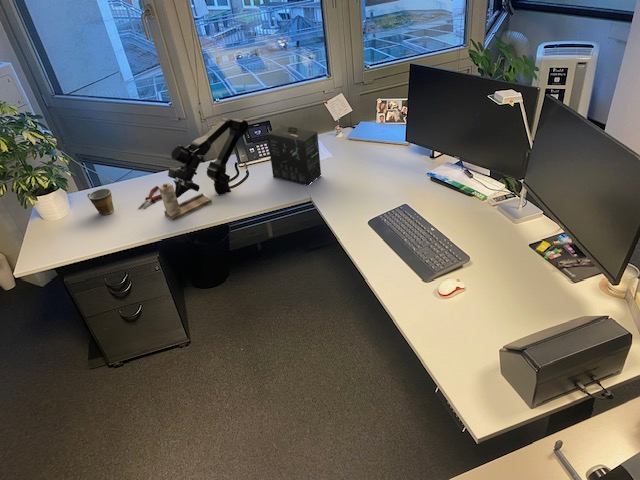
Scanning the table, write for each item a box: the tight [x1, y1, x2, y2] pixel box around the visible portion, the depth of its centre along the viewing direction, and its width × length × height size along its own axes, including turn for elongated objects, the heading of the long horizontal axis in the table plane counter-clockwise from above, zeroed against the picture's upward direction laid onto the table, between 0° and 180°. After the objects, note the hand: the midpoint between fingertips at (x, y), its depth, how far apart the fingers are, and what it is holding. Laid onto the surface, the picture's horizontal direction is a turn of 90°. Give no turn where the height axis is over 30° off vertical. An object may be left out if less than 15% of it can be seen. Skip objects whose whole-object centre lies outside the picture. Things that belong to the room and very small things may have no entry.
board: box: [163, 192, 212, 222], centre depth 218 cm, size 21×8×2 cm, turn 134°
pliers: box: [138, 185, 162, 210], centre depth 229 cm, size 12×20×3 cm, turn 159°
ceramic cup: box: [87, 188, 115, 216], centre depth 221 cm, size 13×10×10 cm
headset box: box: [266, 124, 322, 186], centre depth 227 cm, size 22×12×26 cm, turn 58°
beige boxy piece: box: [158, 182, 181, 216], centre depth 209 cm, size 5×8×15 cm, turn 44°
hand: (175, 198), depth 211 cm, fingers closed, pressing on beige boxy piece
